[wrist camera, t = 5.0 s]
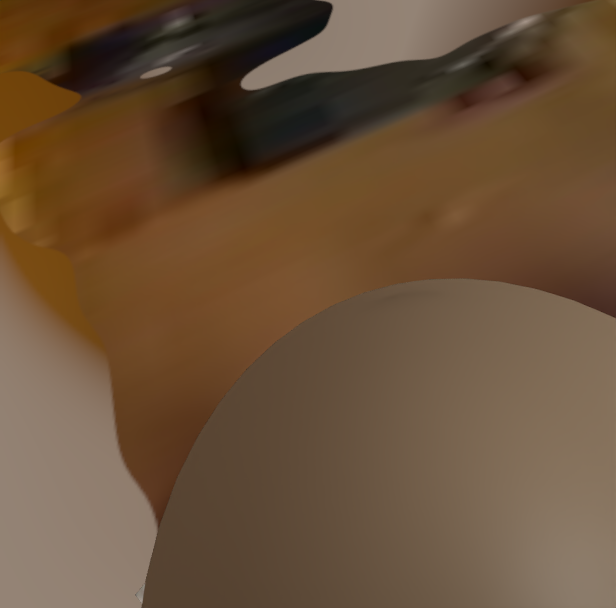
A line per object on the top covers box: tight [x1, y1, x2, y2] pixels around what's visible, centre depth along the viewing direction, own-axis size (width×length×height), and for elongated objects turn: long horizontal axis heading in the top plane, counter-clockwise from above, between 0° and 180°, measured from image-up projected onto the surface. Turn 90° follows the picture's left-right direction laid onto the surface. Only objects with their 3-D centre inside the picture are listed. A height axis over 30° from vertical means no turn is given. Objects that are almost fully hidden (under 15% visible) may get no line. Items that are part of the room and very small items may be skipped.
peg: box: [142, 279, 616, 608], centre depth 8 cm, size 5×5×12 cm
